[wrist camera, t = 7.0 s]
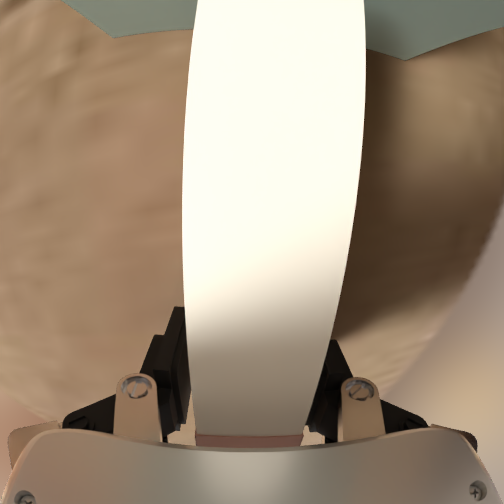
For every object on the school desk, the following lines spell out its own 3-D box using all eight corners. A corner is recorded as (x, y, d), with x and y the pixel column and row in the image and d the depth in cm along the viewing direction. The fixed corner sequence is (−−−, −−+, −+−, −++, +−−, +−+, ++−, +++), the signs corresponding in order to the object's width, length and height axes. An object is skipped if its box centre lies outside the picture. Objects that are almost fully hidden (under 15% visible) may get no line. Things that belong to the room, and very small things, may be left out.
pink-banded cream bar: (217, 53, 8) (198, -24, 3) (308, 60, 8) (366, -3, 3) (209, 373, 12) (200, 468, 8) (276, 375, 13) (291, 468, 8)
